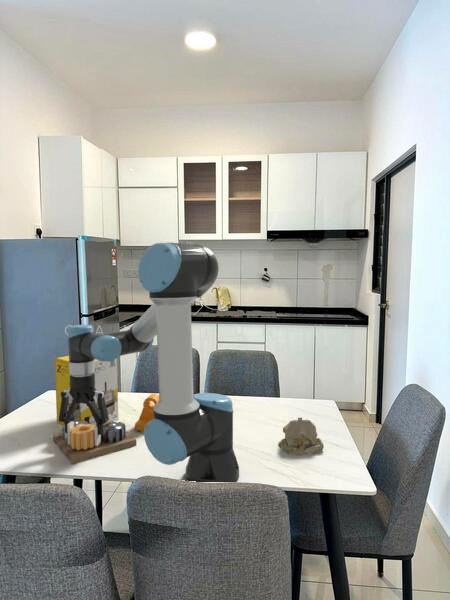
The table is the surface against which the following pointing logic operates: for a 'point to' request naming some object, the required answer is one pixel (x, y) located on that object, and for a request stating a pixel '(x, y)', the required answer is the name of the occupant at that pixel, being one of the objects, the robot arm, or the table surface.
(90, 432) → the orange gear
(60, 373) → the packaging box
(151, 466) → the table surface
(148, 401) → the bracket
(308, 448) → the ceramic model
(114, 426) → the gear
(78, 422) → the gear
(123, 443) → the gear board
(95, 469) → the table surface
